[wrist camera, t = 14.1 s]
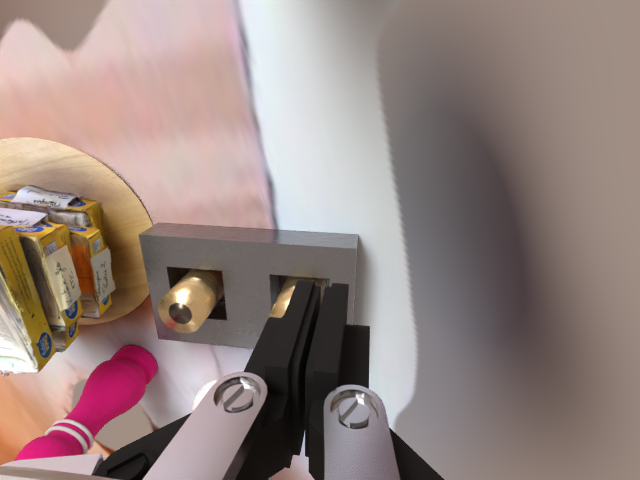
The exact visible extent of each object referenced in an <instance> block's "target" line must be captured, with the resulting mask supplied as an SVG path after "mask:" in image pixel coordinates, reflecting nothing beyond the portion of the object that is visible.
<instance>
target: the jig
mask: <svg viewBox="0 0 640 480" xmlns="http://www.w3.org/2000/svg"><path fill="white" fill-rule="evenodd" d="M139 240H140V245H141V251H142V256H143V261H144V266H145V271H146V276H147V282H148V287H149V292H150V297H151V302H152V307H153V313H154V318H155V323H156V328H157V333H158V338H159V339H164V340H174V341H184V342H193V343H203V344H213V345H222V346H232V347H242V348H251V349H254V348H255V346H256V344H257V341H258V339H259V337H260V335H261V332H262V330H263V328H264V326H265V324H266V321H267V320H268V318H269V315H270V313H271V311H272V308H273V306H274V304H275V302H276V300H277V298H278V296H279V294H280V288H279V275H285V276H298V277H311V278H324V279H329V287H331V286H332V283H342V284H349V293H348V311H347V324H350V325H353V323H354V304H355V285H356V266H357V248H358V235H355V234H339V233H322V232H305V231H289V230H272V229H255V228H239V227H222V226H205V225H189V224H172V223H157V224H155V225H154V226H152V227H150V228H149V229H147V230H145V231H144V232H142V233H140V234H139ZM186 268H192V269H191V270H190V271H189V272H188V273H187V272H186ZM224 294H225V301H220V300H221V298H222V297H223V296H224Z"/></svg>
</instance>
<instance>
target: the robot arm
mask: <svg viewBox="0 0 640 480" xmlns="http://www.w3.org/2000/svg"><path fill="white" fill-rule="evenodd" d="M348 293H349V284H342V283H332V286H331V287H325V290H324V294H323V298H322V302H321V286H315V281H306V280H298V281H297V283H296V285H295V288H294V290H293V293H292V296H291V298H290V301H289V303H288V306H287V308H286V311H285V314H284V316H283V318H278V317H269V318H268V320H267V321H266V324H265V326H264V328H263V330H262V332H261V335H260V337H259V339H258V341H257V344H256V346H255V348H254V350H253V352H252V355H251V357H250V359H249V361H248V363H247V366H246V368H245V370H244V372H237V373H232V374H229V375H226V376H224V377H223V378H221V379H219V380H218V381H217V382H216V383H215V384H214V385H213V386H212V387H211V388H210V389H209V391H208V392H207V393H206V395H205V396H204V397H203V399H202V400H201V401H200V403H199V404H198V406H197V407H196V408H195V410H194V411H193V412H192V413H190V414H188V415H186V416H184V417H182V418H180V419H178V420H176V421H174V422H172V423H170V424H168V425H166V426H164V427H162V428H160V429H158V430H156V431H154V432H152V433H150V434H148V435H146V436H144V437H142V438H140V439H139V440H136V441H134V442H132V443H130V444H128V445H126V446H124V447H122V448H120V449H119V450H117V451H116V452H114V453H112V454H111V455H110V456H109V457H107V458H103V457H102V454H101V453H98V454H86V455H74V456H62V457H50V458H38V459H26V460H17V461H13V462H9V463H6V464H4V465H1V466H0V480H272V476H273V475H275V474H276V473H277V472H279V471H280V470H282V469H283V468H284V467H286V468H290V465H291V461H292V456H293V455H300V452H301V447H302V442H303V437H304V432H305V456H306V457H309V473H310V474H311V475H312V477H313V478H314V479H315V480H444V479H443V478H442V477H441V476H440V475H438V473H437V472H436V471H435V470H433V469H432V468H431V467H430V466H429V465H428V464H427V463H426V462H425V461H424V460H423V459H422V458H421V457H420V456H418V454H417V453H416V452H414V451H413V450H412V449H411V448H410V447H409V446H408V445H407V444H406V443H405V442H404V441H403V440H402V439H401V438H400V437H399V436H398V435H397V434H396V433H394V432H393V431H392V430H391V429H390V428H389V425H388V420H387V415H386V411H385V407H384V404H383V402H382V400H381V399H380V398H379V396H378V395H377V394H376V393H374V392H373V391H371V390H370V389H369V340H370V326H360V325H350V324H347V311H348ZM320 305H321V306H320Z"/></svg>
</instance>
